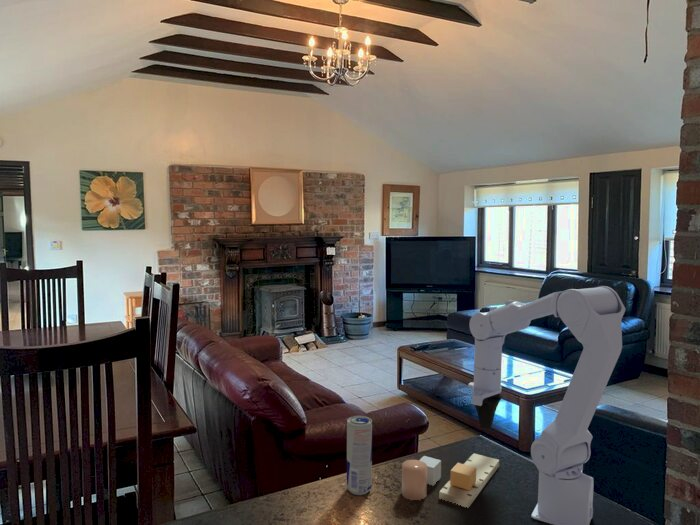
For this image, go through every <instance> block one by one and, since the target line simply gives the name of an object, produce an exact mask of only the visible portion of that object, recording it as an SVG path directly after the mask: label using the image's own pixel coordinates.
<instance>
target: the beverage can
mask: <svg viewBox="0 0 700 525" xmlns="http://www.w3.org/2000/svg"><path fill="white" fill-rule="evenodd" d="M346 421H347V424H346V489H347V490H348V491H349V492H350V493H351V494H353V495H356V496H365V495H367V493H369V492H370V491H372V484H373V483H372V482H373V481H372V476H373V475H372V474H373V470H372V469H373V467H372V466H373V419H372V418H370V417H368V416H366V415H365V416H364V415H354V416H353V415H352V416H350V417H348V418H347V420H346Z"/></svg>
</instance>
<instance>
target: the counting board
mask: <svg viewBox="0 0 700 525" xmlns="http://www.w3.org/2000/svg"><path fill="white" fill-rule="evenodd" d="M463 464H465V465H469V466H472V467H476V482H475V484H474V485H473V486H472V487H471V489H470V490H467V489H463V488H460V487H457V486H453V485H450V479H449V480H448V481H447V482H446V483H445V484H444V486H443V487H442V488H441V489H440V490H439V492H438V493H439V494H438V499H439V500H441V499H442V501H444V500H445V502H447V501H449V502H448V503H450V502H452V503H451V504H454V503H456V504H455V505H457V504H458V506H460V505H461V507H464V508H466V507H467V509H469V507H471V505H472V504H473V503H474V501H475V500H476V498H478V495H480V493H481V491H482V490H483V489H484V488H485V486H486V485H487V483H488V482H489V480H490V479H491V478H492V477H493V475H494V474H495V473H496V471H497V470H498V469H499V467H500V459H499V458H498V459H497V458H494V457H490V456H485V455H481V454H478V453H473V454H471V455H470V456H469V457H468V458H467V459H466V461H465V462H464V463H463Z"/></svg>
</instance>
